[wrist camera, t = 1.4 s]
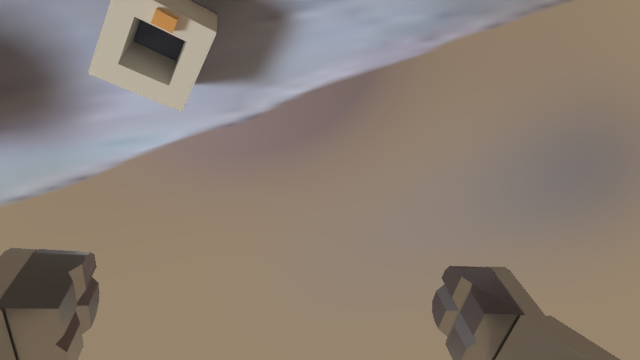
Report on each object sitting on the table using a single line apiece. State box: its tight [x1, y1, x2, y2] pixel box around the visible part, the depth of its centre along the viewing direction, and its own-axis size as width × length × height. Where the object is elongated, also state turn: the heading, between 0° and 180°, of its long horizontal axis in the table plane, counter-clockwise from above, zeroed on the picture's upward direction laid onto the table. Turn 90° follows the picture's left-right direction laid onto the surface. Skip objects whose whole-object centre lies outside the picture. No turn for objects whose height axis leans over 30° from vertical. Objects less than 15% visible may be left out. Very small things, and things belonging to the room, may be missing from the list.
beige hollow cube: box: [88, 0, 218, 112], centre depth 26 cm, size 6×6×6 cm
